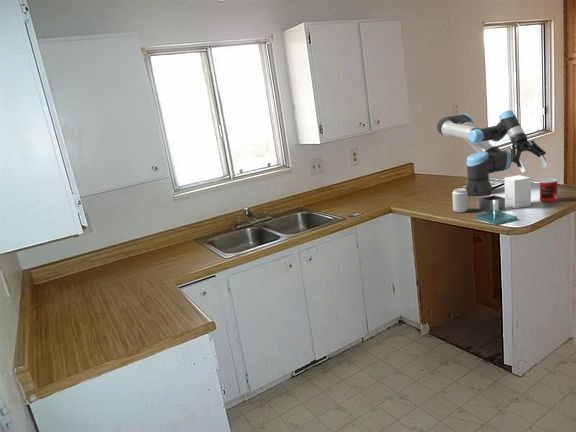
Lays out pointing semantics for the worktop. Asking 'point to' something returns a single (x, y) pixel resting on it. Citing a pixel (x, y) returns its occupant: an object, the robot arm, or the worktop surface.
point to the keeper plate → (495, 219)
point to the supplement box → (518, 191)
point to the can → (460, 200)
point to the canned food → (548, 190)
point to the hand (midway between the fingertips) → (535, 169)
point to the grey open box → (491, 203)
